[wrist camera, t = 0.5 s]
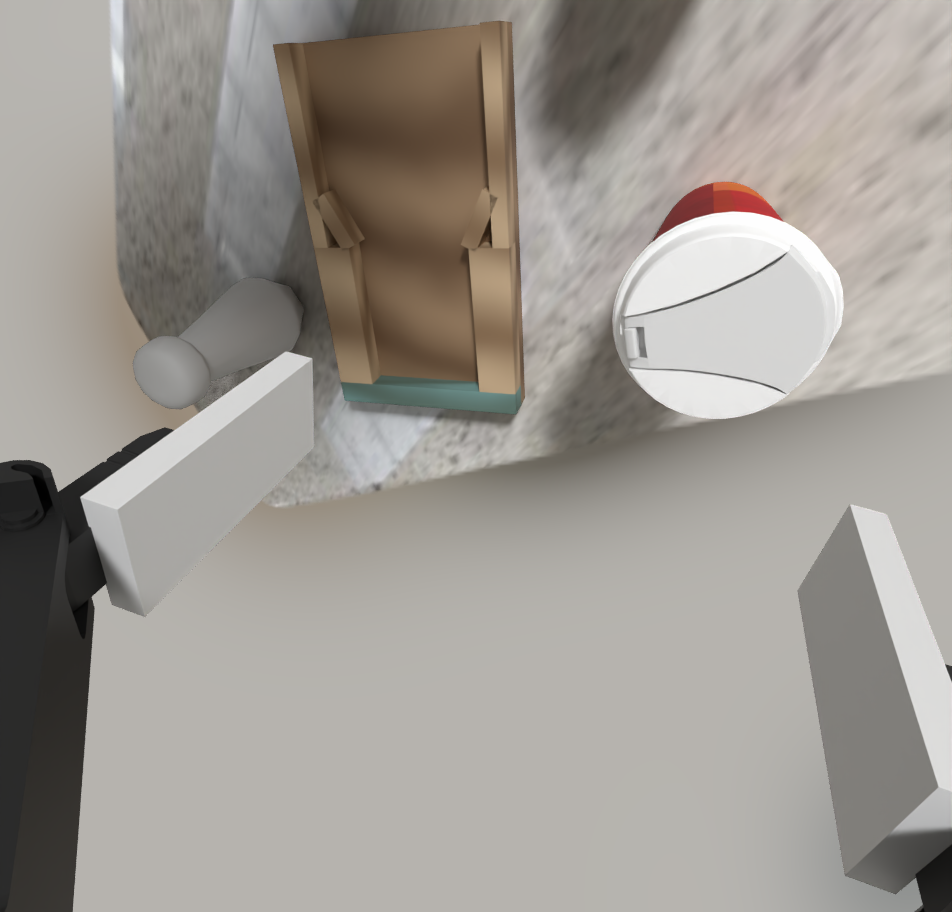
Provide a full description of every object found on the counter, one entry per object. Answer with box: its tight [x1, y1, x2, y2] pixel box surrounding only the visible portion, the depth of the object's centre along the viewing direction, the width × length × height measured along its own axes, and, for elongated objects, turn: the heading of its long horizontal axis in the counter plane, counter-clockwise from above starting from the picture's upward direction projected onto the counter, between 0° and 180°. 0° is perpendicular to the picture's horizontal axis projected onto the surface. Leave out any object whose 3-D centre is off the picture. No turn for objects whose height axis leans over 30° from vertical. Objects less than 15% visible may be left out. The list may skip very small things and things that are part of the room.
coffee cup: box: [612, 182, 844, 419], centre depth 30 cm, size 8×8×15 cm
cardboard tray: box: [273, 21, 525, 414], centre depth 40 cm, size 22×13×2 cm, turn 4°
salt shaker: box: [133, 278, 304, 409], centre depth 42 cm, size 6×6×13 cm
